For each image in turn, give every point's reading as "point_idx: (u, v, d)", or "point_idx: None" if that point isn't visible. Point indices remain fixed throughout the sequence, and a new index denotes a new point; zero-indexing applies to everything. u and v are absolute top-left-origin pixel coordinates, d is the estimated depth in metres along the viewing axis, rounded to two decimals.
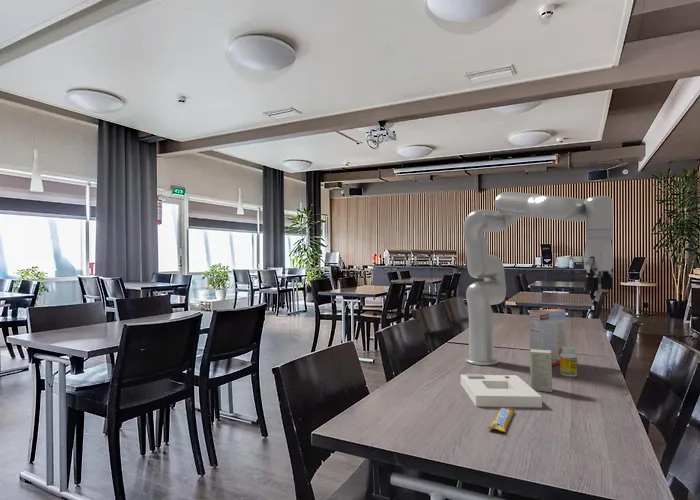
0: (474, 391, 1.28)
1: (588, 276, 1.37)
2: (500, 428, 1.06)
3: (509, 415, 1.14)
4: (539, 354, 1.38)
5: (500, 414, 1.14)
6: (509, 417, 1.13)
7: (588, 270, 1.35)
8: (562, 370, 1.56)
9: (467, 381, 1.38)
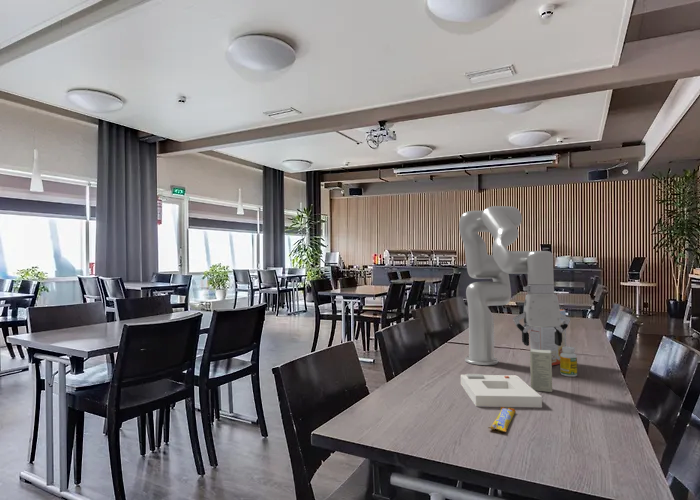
0: (474, 391, 1.28)
1: None
2: (501, 428, 1.06)
3: (510, 415, 1.14)
4: (539, 354, 1.38)
5: (501, 414, 1.14)
6: (510, 417, 1.13)
7: None
8: (562, 370, 1.56)
9: (467, 381, 1.38)
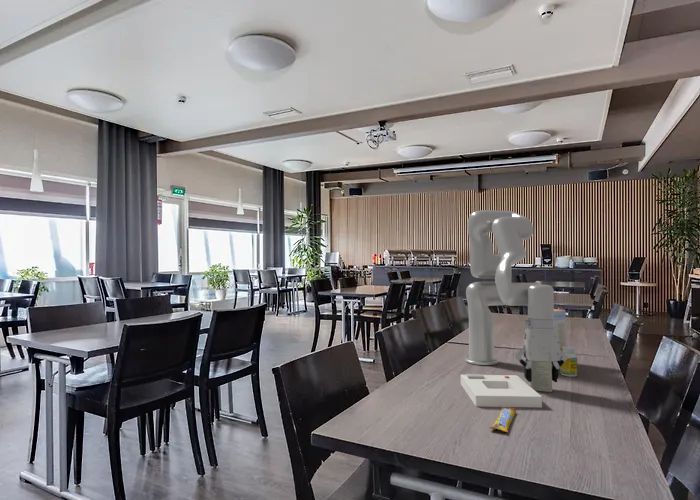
0: (474, 391, 1.28)
1: None
2: (502, 428, 1.06)
3: (511, 415, 1.14)
4: None
5: (502, 414, 1.14)
6: (511, 417, 1.13)
7: None
8: (562, 370, 1.56)
9: (467, 381, 1.38)
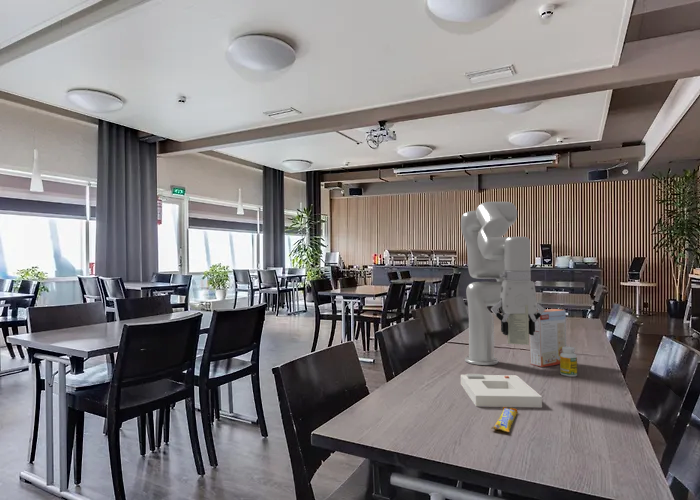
0: (474, 391, 1.28)
1: None
2: (504, 428, 1.06)
3: (512, 415, 1.14)
4: None
5: (503, 414, 1.14)
6: (512, 417, 1.13)
7: None
8: (562, 370, 1.56)
9: (467, 381, 1.38)
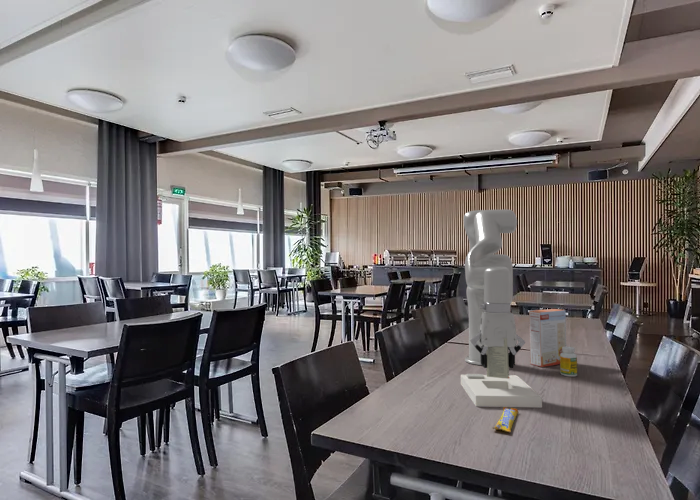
0: (474, 391, 1.28)
1: None
2: (505, 428, 1.06)
3: (513, 415, 1.14)
4: None
5: (504, 414, 1.14)
6: (513, 417, 1.13)
7: None
8: (562, 370, 1.56)
9: (467, 381, 1.38)
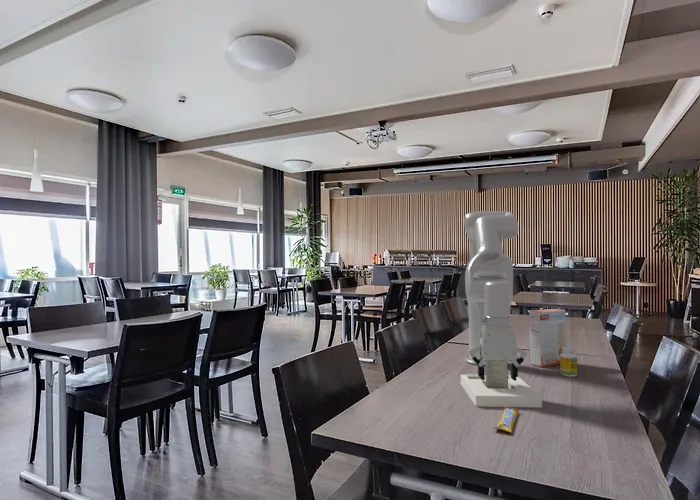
0: (474, 391, 1.28)
1: None
2: (506, 428, 1.06)
3: (514, 415, 1.14)
4: None
5: (505, 414, 1.14)
6: (514, 417, 1.13)
7: None
8: (562, 370, 1.56)
9: (467, 381, 1.38)
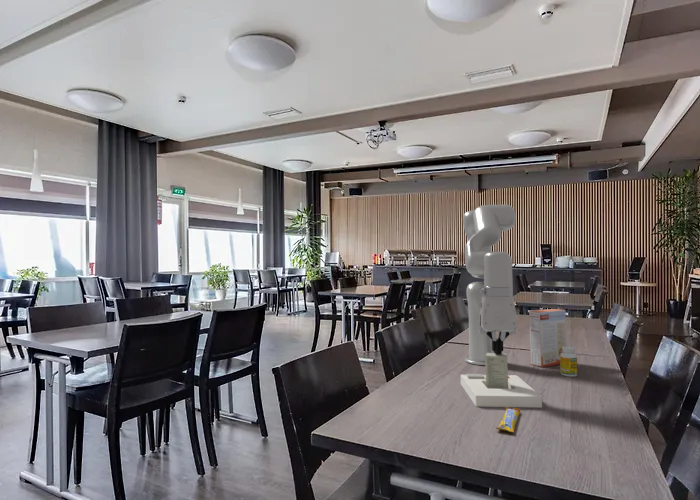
0: (474, 391, 1.28)
1: None
2: (508, 429, 1.06)
3: (516, 415, 1.14)
4: (494, 358, 1.33)
5: (507, 414, 1.14)
6: (516, 417, 1.13)
7: None
8: (562, 370, 1.56)
9: (467, 381, 1.38)
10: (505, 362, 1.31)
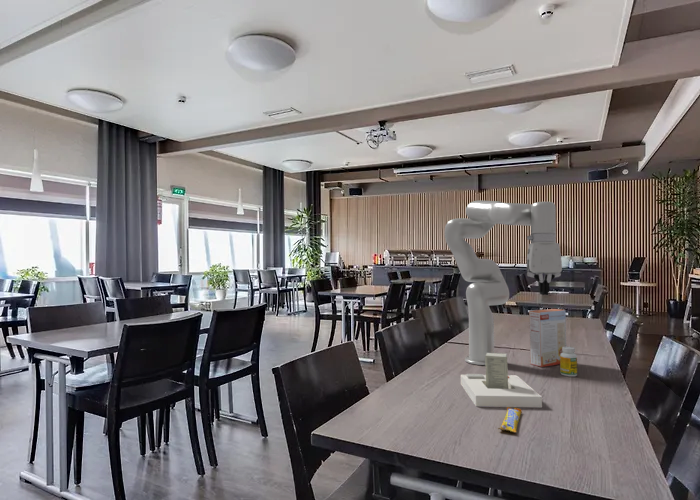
0: (474, 391, 1.28)
1: None
2: (511, 429, 1.06)
3: (517, 415, 1.14)
4: (494, 358, 1.33)
5: (508, 415, 1.14)
6: (518, 417, 1.13)
7: (553, 277, 1.48)
8: (562, 370, 1.56)
9: (467, 381, 1.38)
10: (505, 362, 1.31)
